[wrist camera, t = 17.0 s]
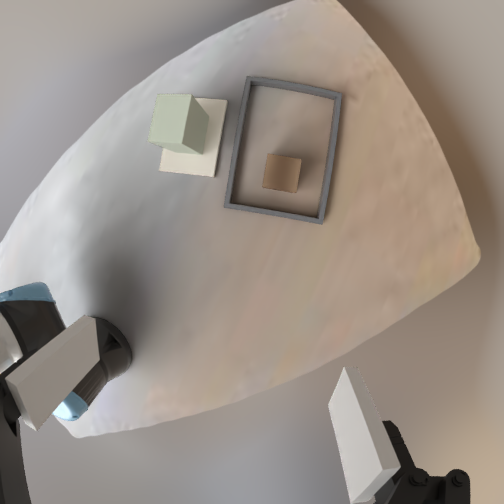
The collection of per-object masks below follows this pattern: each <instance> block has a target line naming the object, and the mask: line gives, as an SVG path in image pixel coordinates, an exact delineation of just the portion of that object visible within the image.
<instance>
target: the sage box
mask: <svg viewBox="0 0 504 504" xmlns="http://www.w3.org/2000/svg"><path fill="white" fill-rule="evenodd" d="M208 122H209V116H208V114H207V113H206V112H205V111H204V109H203V108H202V107H201V105H200V104H199V103H198V102H197V100H196V99H195V98H194V97H193V95H190V94H158V95H157V99H156V103H155V108H154V112H153V117H152V122H151V127H150V132H149V137H148V142H150V143H153V144H155V145H158V146H160V147H163V148H165V149H168V150H170V151H173V152H175V153H186V154H197V155H203V149H204V143H205V138H206V132H207V127H208Z"/></svg>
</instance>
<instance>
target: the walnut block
mask: <svg viewBox="0 0 504 504" xmlns="http://www.w3.org/2000/svg"><path fill="white" fill-rule="evenodd" d="M301 161H302V160H301V159H296V158H291V157H285V156H280V155H274V154H268V156H267V162H266V168H265V174H264V180H263V186H262V187H263V188H268V189H274V190H280V191H286V192H291V193H296V191H297V185H298V179H299V173H300V167H301Z"/></svg>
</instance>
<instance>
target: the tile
mask: <svg viewBox="0 0 504 504" xmlns="http://www.w3.org/2000/svg"><path fill="white" fill-rule="evenodd" d="M195 99H196V100H197V102H198V103H199V104H200V105H201V107H202V108H203V109H204V111H205V112H206V113H207V114H208V116H209V122H208V127H207V132H206V138H205V143H204V149H203V155H197V154H186V153H175V152H173V151H170V150H168V149H165V148H163V150H162V156H161V162H160V169H159V171H164V172H174V173H183V174H192V175H200V176H208V177H215V171H216V165H217V159H218V153H219V147H220V142H221V136H222V131H223V125H224V120H225V115H226V109H227V104H228V101H227V100H220V99H206V98H195Z"/></svg>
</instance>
